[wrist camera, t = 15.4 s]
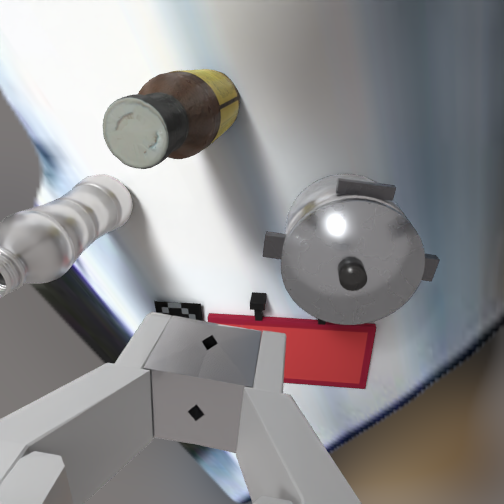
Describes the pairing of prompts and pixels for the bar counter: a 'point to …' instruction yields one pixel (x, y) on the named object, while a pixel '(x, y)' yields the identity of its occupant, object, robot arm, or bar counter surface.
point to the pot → (332, 191)
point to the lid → (352, 261)
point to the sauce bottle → (171, 117)
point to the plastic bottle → (59, 231)
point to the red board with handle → (302, 343)
